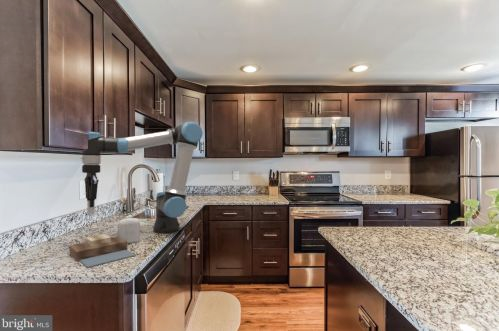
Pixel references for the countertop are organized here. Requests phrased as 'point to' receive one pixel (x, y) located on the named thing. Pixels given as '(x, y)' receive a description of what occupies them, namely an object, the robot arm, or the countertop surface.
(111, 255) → the rubber mat
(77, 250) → the board
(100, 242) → the birch tile
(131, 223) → the photo printer
